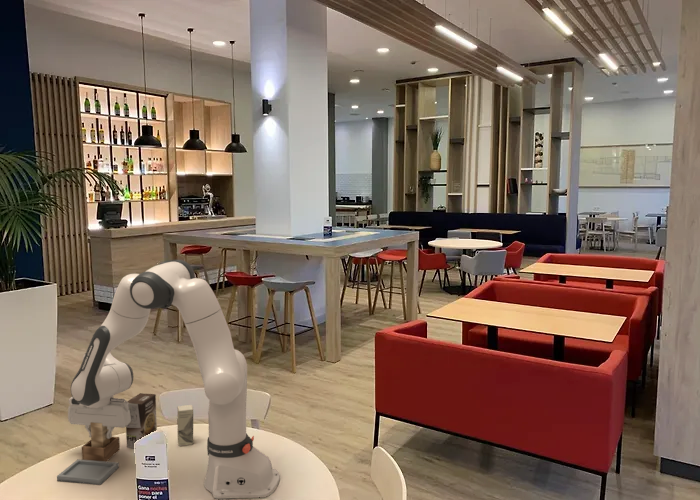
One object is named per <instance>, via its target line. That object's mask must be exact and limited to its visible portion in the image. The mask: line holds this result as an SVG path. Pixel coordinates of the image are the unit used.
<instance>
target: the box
mask: <svg viewBox="0 0 700 500" xmlns="http://www.w3.org/2000/svg"><path fill="white" fill-rule="evenodd" d="M176 408H177V445H178V446H179V447H181V446H192V445H194V406H193V404H189V405H188V404H187V405H186V404H185V405H178V406H177V407H176Z"/></svg>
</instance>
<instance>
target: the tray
mask: <svg viewBox="0 0 700 500" xmlns="http://www.w3.org/2000/svg"><path fill="white" fill-rule="evenodd" d="M119 468H120V464H119V462H115V461H107V462H105V461H93V460H82V459H80V458H79V459H76V460H75V461H74V462H72V463H71V464H70V465H68V467H66V468H65V469H63V471H61V472H60V473H58V474H57V476H56V481H57V482H63V483H73V484H74V483H77V484H85V485H86V484H87V485H97V486H98V485H99V486H101V485H102V484H103V483H104V482H105V481H107V479H108V478H109V477H111V476H112V475H113V474H114V473H115V472H116V471H117V470H118V469H119Z"/></svg>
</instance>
